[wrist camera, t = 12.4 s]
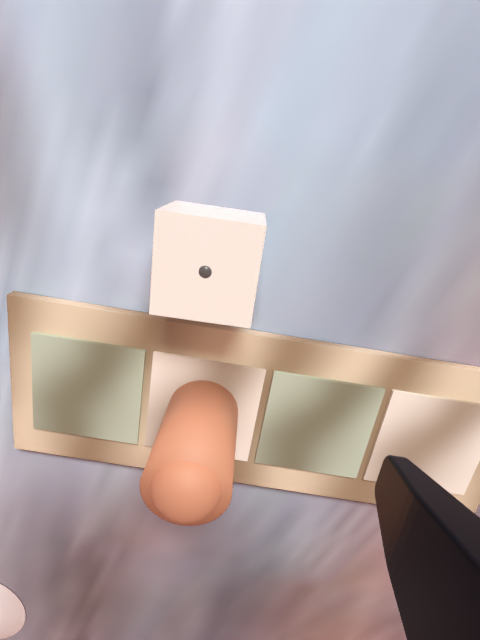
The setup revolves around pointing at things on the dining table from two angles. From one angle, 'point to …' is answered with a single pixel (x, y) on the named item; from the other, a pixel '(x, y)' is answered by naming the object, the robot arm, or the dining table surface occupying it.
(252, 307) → the die
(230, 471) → the peach rounded cylinder
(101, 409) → the board
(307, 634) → the dining table surface
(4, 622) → the champagne flute
